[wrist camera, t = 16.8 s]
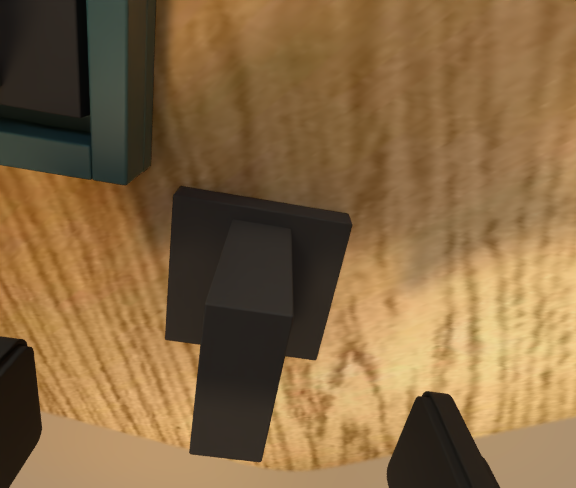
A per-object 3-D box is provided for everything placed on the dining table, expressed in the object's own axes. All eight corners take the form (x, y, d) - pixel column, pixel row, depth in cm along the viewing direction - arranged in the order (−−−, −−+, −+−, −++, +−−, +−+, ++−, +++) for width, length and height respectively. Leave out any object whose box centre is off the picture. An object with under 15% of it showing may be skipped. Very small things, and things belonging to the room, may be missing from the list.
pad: (348, 213, 14) (387, 311, 9) (314, 344, 17) (328, 482, 11) (180, 185, 14) (111, 270, 8) (171, 324, 16) (114, 458, 11)
